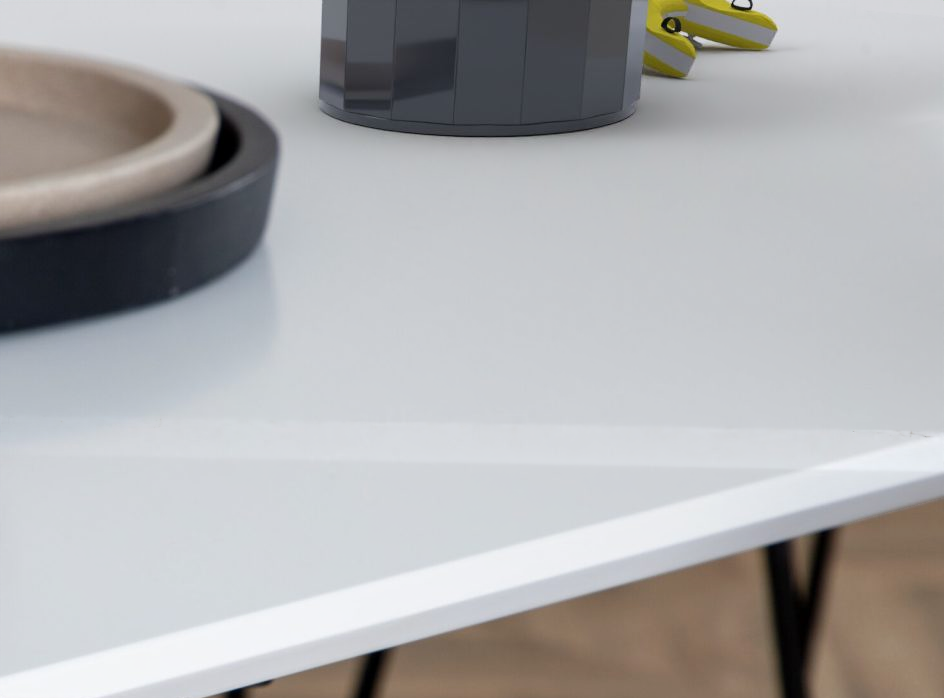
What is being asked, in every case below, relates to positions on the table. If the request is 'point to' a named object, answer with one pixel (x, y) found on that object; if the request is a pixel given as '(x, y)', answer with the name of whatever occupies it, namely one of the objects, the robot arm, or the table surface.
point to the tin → (481, 64)
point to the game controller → (700, 31)
